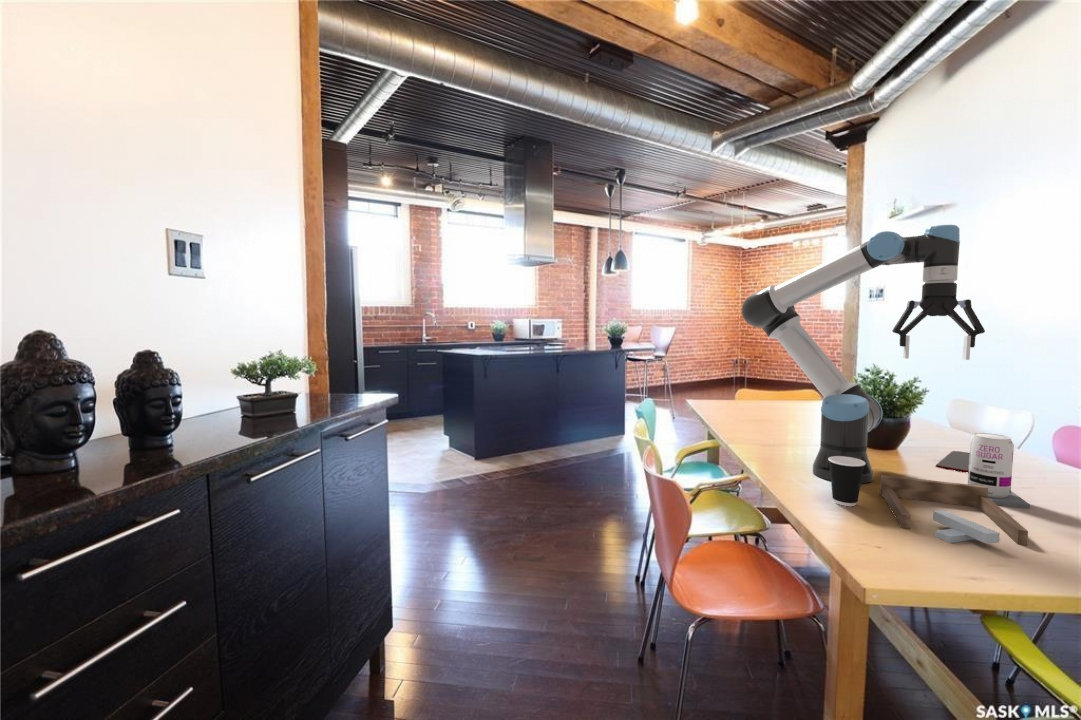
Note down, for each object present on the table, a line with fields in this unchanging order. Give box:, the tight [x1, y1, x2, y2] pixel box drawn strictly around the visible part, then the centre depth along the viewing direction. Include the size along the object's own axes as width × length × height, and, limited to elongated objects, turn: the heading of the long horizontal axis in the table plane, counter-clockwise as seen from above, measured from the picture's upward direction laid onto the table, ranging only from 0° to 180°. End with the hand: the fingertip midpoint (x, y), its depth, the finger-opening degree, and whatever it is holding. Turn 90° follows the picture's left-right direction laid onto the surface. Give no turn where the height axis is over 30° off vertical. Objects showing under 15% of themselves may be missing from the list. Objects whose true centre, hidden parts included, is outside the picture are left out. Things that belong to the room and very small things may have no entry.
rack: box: [879, 474, 1029, 546], centre depth 116 cm, size 22×24×5 cm
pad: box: [988, 490, 1031, 509], centre depth 128 cm, size 12×12×1 cm
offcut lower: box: [934, 528, 975, 544], centre depth 105 cm, size 12×3×2 cm, turn 104°
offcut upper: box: [932, 510, 1001, 544], centre depth 105 cm, size 12×3×2 cm, turn 5°
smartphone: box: [935, 450, 970, 473], centre depth 158 cm, size 12×2×25 cm
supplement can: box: [967, 432, 1015, 498], centre depth 127 cm, size 8×8×15 cm
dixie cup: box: [828, 456, 866, 507], centre depth 124 cm, size 8×8×11 cm
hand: (935, 358), depth 140 cm, fingers open, 13 cm apart
